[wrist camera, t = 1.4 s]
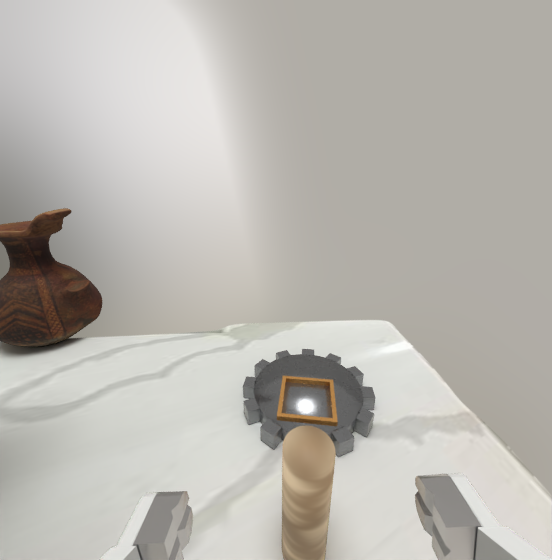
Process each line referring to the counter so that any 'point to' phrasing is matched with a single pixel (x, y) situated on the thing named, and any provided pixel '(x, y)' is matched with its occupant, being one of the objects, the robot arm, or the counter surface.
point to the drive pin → (306, 492)
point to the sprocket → (308, 398)
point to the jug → (42, 287)
